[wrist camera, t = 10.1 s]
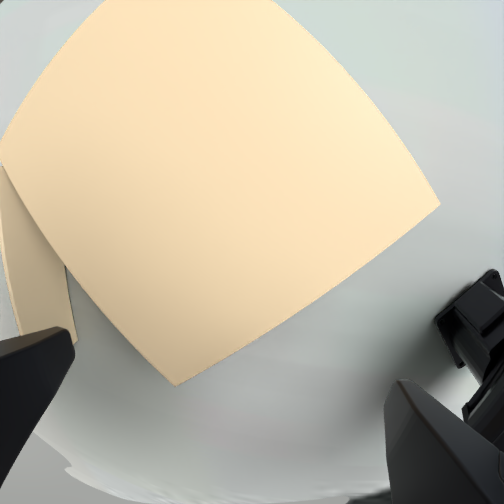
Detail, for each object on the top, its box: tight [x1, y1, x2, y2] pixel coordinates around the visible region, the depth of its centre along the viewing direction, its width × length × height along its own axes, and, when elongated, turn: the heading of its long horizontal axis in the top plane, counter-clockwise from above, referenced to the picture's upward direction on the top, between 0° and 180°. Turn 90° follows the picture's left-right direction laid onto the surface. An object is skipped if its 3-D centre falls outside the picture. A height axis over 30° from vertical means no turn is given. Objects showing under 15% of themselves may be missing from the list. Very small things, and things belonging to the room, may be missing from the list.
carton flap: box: [0, 166, 78, 344], centre depth 16 cm, size 16×1×11 cm, turn 176°
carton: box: [0, 0, 440, 387], centre depth 15 cm, size 18×16×6 cm
